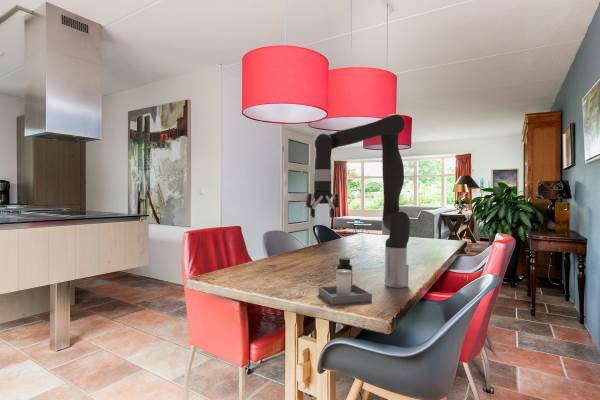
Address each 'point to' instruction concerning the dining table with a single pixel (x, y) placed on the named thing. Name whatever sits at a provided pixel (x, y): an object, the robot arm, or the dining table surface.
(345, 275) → the green capped canister
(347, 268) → the supplement bottle
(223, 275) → the dining table surface
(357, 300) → the tray
